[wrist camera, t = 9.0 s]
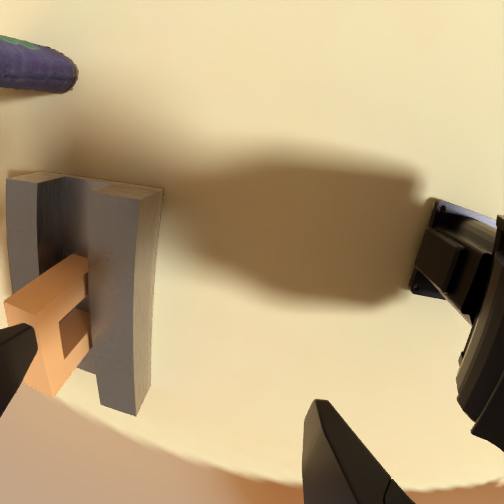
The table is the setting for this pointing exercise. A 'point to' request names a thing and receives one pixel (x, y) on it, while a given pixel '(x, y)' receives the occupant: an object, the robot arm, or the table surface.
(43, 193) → the rail
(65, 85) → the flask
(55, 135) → the table surface
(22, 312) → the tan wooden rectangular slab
